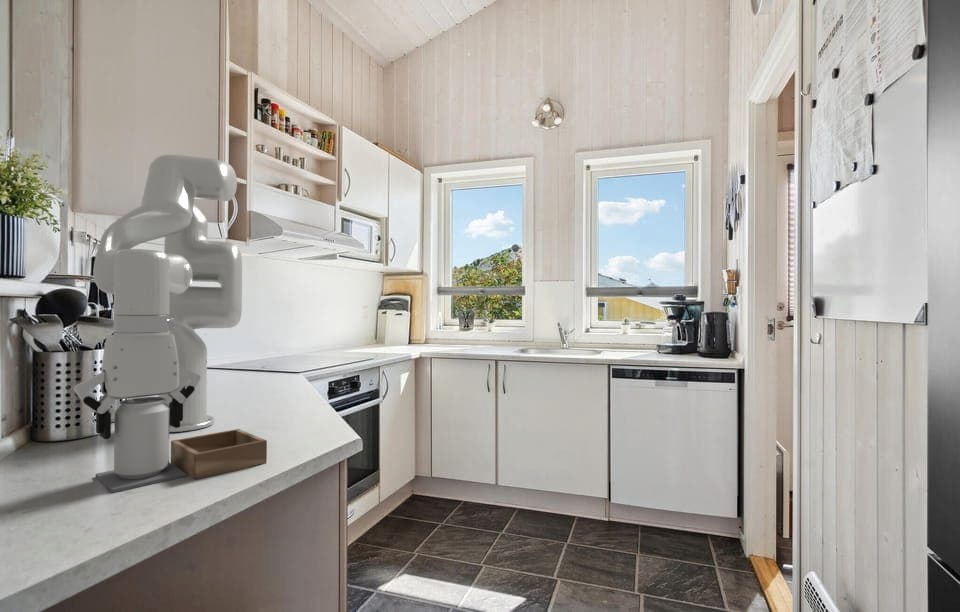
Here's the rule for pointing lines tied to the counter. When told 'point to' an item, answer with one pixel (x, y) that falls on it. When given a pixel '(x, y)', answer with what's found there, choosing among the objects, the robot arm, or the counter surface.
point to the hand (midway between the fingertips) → (141, 431)
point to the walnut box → (218, 453)
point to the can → (141, 437)
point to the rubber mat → (120, 484)
